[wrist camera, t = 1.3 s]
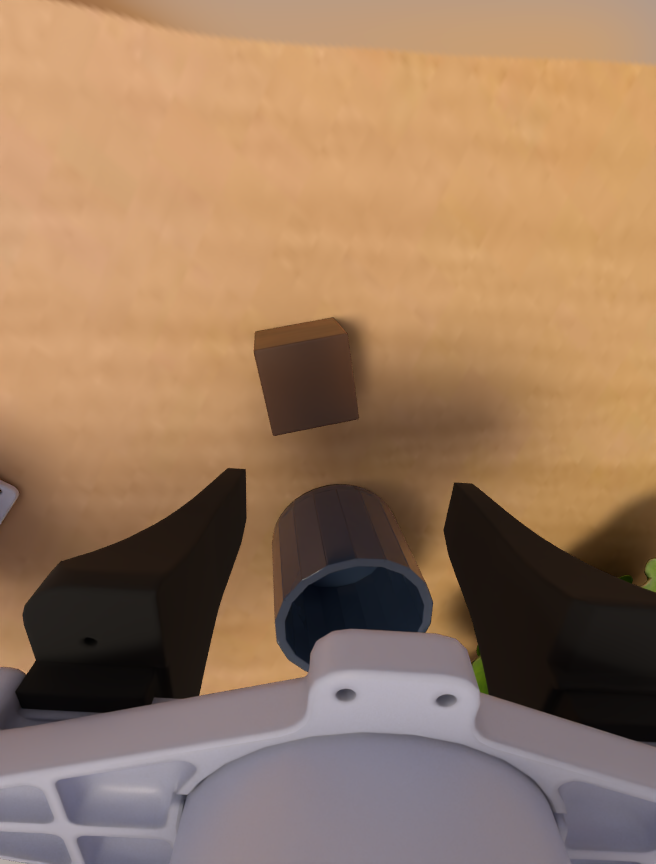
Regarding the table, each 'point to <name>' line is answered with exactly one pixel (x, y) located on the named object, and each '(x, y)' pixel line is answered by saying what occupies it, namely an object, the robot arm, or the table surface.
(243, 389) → the table surface
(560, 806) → the robot arm
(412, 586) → the cup
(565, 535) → the table surface
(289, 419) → the block
